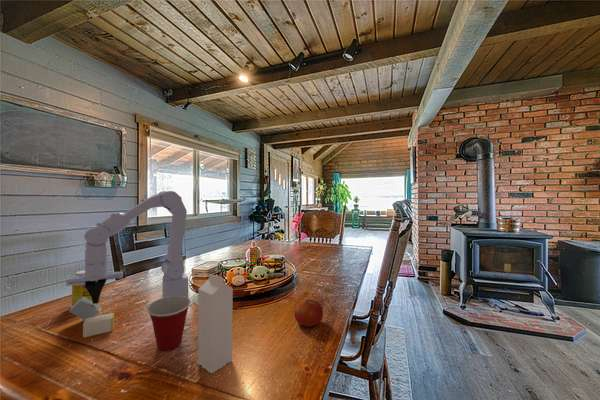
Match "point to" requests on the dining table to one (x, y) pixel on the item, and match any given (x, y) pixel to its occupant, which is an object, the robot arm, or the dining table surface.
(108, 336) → the dining table surface
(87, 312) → the grey block
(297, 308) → the tomato
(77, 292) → the supplement bottle
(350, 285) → the dining table surface
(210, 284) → the milk
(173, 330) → the plastic cup
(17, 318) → the dining table surface
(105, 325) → the cream block
